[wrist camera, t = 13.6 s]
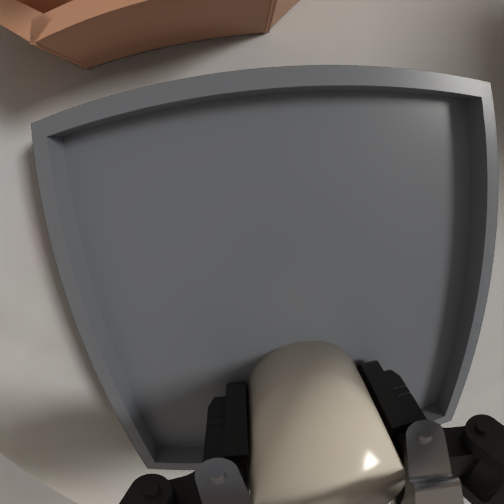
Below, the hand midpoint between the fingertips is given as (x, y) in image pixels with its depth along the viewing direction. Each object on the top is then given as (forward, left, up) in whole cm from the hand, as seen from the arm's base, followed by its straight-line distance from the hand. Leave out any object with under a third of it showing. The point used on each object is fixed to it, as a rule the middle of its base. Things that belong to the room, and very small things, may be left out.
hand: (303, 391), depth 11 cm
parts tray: (0, -3, -1) cm, 4 cm away
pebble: (0, 0, 0) cm, 0 cm away
